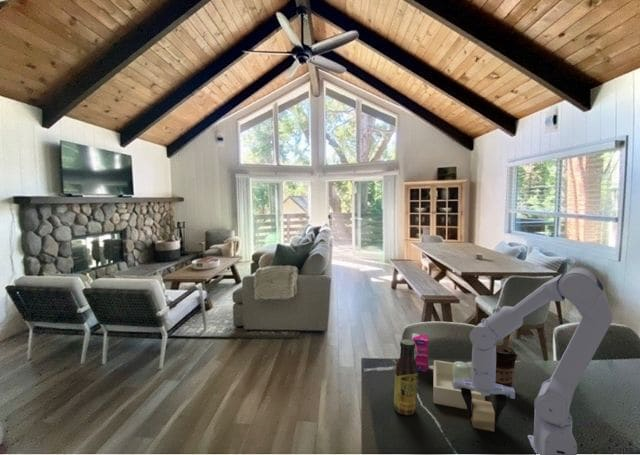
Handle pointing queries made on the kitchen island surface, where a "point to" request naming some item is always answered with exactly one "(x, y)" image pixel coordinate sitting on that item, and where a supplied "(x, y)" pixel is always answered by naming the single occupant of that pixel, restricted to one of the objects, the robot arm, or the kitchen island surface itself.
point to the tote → (449, 386)
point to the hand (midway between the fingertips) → (482, 418)
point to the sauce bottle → (406, 380)
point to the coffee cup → (505, 365)
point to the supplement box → (421, 351)
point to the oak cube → (482, 415)
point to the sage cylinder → (460, 371)
